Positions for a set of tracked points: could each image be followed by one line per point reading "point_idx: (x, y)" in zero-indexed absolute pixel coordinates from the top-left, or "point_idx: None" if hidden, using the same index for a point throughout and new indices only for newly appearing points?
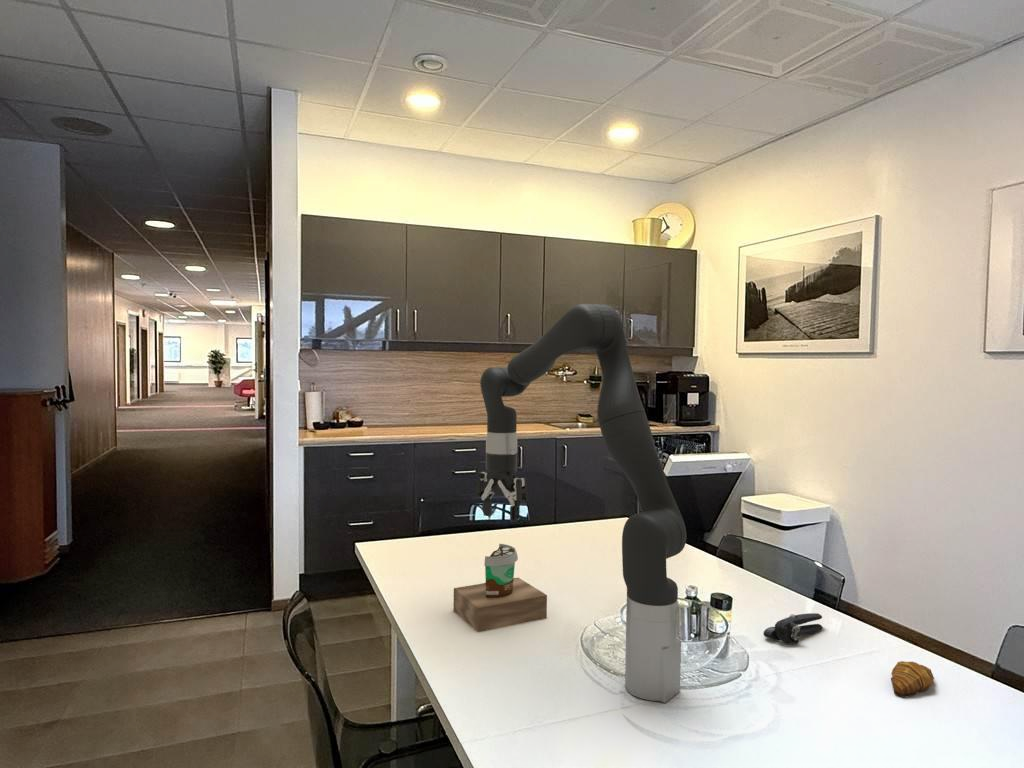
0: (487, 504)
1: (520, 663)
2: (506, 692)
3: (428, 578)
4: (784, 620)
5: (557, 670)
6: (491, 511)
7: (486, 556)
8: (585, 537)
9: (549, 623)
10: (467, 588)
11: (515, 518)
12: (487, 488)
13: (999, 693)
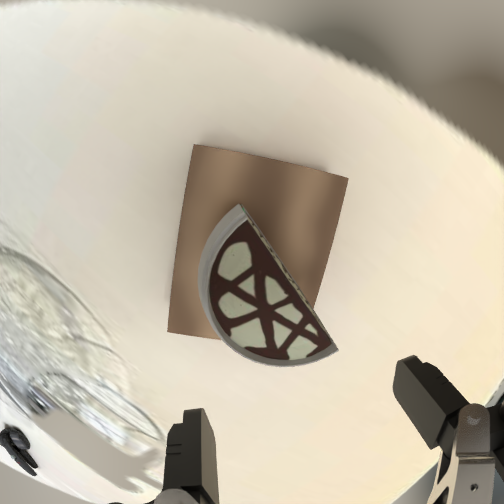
0: (429, 410)
1: (51, 143)
2: (11, 81)
3: (466, 240)
4: (3, 445)
5: (11, 183)
6: (399, 403)
7: (242, 221)
8: (380, 483)
9: (149, 294)
10: (325, 205)
11: (170, 431)
12: (476, 493)
13: None
